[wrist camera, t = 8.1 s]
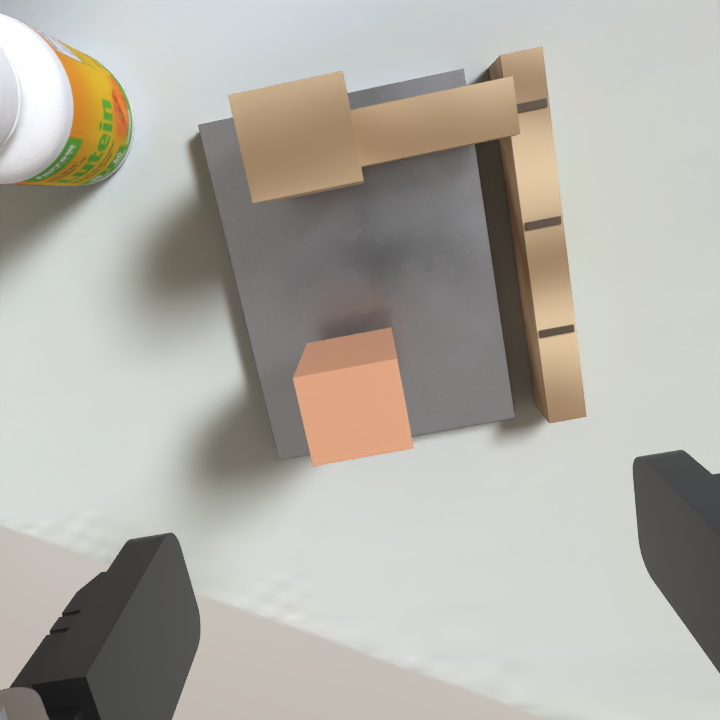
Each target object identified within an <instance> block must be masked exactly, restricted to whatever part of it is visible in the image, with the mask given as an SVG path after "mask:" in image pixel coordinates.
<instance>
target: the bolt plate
mask: <svg viewBox="0 0 720 720" xmlns="http://www.w3.org/2000/svg"><path fill="white" fill-rule="evenodd" d="M463 86H466V81H465V74H464V69H460V70H455V71H451V72H446V73H441V74H437V75H432V76H427V77H422V78H418V79H413V80H408V81H403V82H399V83H394V84H389V85H385V86H380V87H375V88H370V89H366V90H361V91H356V92H351V93H347V95H348V100H349V105H350V110H354V109H358V108H363V107H368V106H373V105H378V104H382V103H387V102H392V101H397V100H401V99H406V98H411V97H416V96H420V95H425V94H430V93H435V92H439V91H444V90H449V89H454V88H458V87H463ZM198 127H199V131H200V135H201V139H202V143H203V148H204V152H205V156H206V160H207V164H208V168H209V172H210V176H211V181H212V185H213V189H214V193H215V197H216V201H217V205H218V209H219V214H220V218H221V222H222V226H223V230H224V234H225V238H226V243H227V247H228V251H229V255H230V259H231V263H232V267H233V271H234V276H235V280H236V284H237V288H238V292H239V296H240V300H241V304H242V309H243V313H244V317H245V321H246V325H247V329H248V333H249V337H250V342H251V346H252V350H253V354H254V358H255V362H256V366H257V370H258V375H259V379H260V383H261V387H262V391H263V395H264V399H265V403H266V408H267V412H268V416H269V420H270V424H271V428H272V432H273V436H274V441H275V445H276V449H277V453H278V457H279V460H282V459H287V458H293V457H298V456H304V455H309V454H310V451H309V446H308V442H307V438H306V433H305V429H304V425H303V420H302V416H301V411H300V407H299V403H298V398H297V394H296V390H295V385H294V381H293V376H294V374H295V371H296V369H297V367H298V364H299V362H300V359H301V357H302V354H303V352H304V349H305V347H306V344H307V343H311V342H317V341H322V340H327V339H332V338H338V337H343V336H348V335H354V334H359V333H364V332H369V331H375V330H380V329H385V328H390V327H391V328H392V334H393V339H394V344H395V350H396V355H397V360H398V366H399V371H400V376H401V381H402V387H403V392H404V397H405V403H406V408H407V414H408V420H409V425H410V431H411V436H415V435H421V434H426V433H432V432H437V431H443V430H448V429H454V428H460V427H465V426H471V425H476V424H482V423H487V422H493V421H498V420H504V419H510V418H515V415H514V408H513V401H512V394H511V387H510V381H509V374H508V367H507V360H506V353H505V347H504V340H503V333H502V326H501V319H500V313H499V306H498V299H497V292H496V285H495V278H494V272H493V265H492V258H491V251H490V244H489V238H488V231H487V224H486V217H485V210H484V204H483V197H482V190H481V183H480V176H479V169H478V163H477V156H476V149H475V144H473V145H469V146H464V147H459V148H454V149H449V150H444V151H439V152H434V153H430V154H425V155H420V156H415V157H410V158H405V159H400V160H395V161H390V162H386V163H381V164H376V165H371V166H366V167H361V169H362V174H363V179H364V183H362V184H358V185H353V186H348V187H343V188H338V189H333V190H328V191H323V192H318V193H313V194H308V195H303V196H299V197H294V198H289V199H284V200H279V201H270V202H260V203H253V202H252V198H251V194H250V189H249V185H248V180H247V176H246V172H245V167H244V163H243V159H242V154H241V150H240V146H239V141H238V137H237V133H236V128H235V124H234V119H233V118H229V119H224V120H219V121H214V122H210V123H205V124H200V125H198Z"/></svg>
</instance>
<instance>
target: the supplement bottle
mask: <svg viewBox="0 0 720 720" xmlns="http://www.w3.org/2000/svg"><path fill="white" fill-rule="evenodd" d="M134 133H135V118H134V112H133V108H132V104H131V101H130V98H129V96H128V94H127V92H126V90H125V88H124V87H123V85H122V84H121V82H120V81H119V80H118V78H117V77H116V76H115V75H114V74H113V73H112V72H111V71H110V70H109V69H108V68H107V67H105V66H104V65H103V64H101V63H100V62H98V61H97V60H95V59H93V58H92V57H90V56H88V55H86V54H84V53H82V52H80V51H78V50H76V49H74V48H72V47H70V46H68V45H66V44H64V43H62V42H60V41H58V40H56V39H54V38H52V37H50V36H48V35H46V34H44V33H42V32H40V31H38V30H36V29H34V28H32V27H30V26H28V25H26V24H25V23H22V22H21V21H18V20H16V19H14V18H12V17H9V16H6V15H4V14H1V13H0V184H25V185H53V186H83V185H90V184H94V183H97V182H99V181H102V180H104V179H106V178H107V177H109V176H110V175H112V174H113V173H114V172H115V171H116V170H118V169H119V167H120V166H121V165H122V164H123V162H124V161H125V160H126V158H127V156H128V154H129V152H130V149H131V147H132V144H133V139H134Z"/></svg>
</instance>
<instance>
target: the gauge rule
mask: <svg viewBox="0 0 720 720" xmlns="http://www.w3.org/2000/svg"><path fill="white" fill-rule="evenodd" d="M489 71H490V78H491V81H487V82H482V83H477V84H473V85H468V86H463V87H458V88H454V89H449V90H444V91H439V92H435V93H430V94H425V95H420V96H416V97H411V98H406V99H401V100H397V101H392V102H387V103H382V104H378V105H373V106H368V107H363V108H358V109H354V110H350V105H349V100H348V95H347V90H346V85H345V80H344V75H343V71H339V72H335V73H330V74H325V75H321V76H316V77H311V78H307V79H302V80H297V81H293V82H288V83H283V84H279V85H274V86H269V87H265V88H260V89H255V90H250V91H246V92H241V93H236V94H232V95H228V98H229V102H230V106H231V111H232V115H233V119H234V124H235V128H236V133H237V137H238V141H239V146H240V150H241V154H242V159H243V163H244V167H245V172H246V176H247V180H248V185H249V189H250V194H251V198H252V202H253V203H260V202H270V201H279V200H284V199H289V198H294V197H299V196H303V195H308V194H313V193H318V192H323V191H328V190H333V189H338V188H343V187H348V186H353V185H358V184H362V183H364V179H363V174H362V169H361V167H366V166H371V165H376V164H381V163H386V162H390V161H395V160H400V159H405V158H410V157H415V156H420V155H425V154H430V153H434V152H439V151H444V150H449V149H454V148H459V147H464V146H469V145H473V144H478V143H483V142H488V141H493V140H498V139H499V143H500V150H501V157H502V165H503V172H504V179H505V186H506V194H507V201H508V208H509V215H510V223H511V230H512V237H513V244H514V252H515V259H516V266H517V273H518V281H519V288H520V295H521V302H522V309H523V317H524V324H525V331H526V338H527V346H528V353H529V360H530V367H531V375H532V382H533V389H534V396H535V404H536V407H537V408H538V409H539V411H540V412H541V413H542V414H543V416H544V417H545V418H546V419H547V421H548V422H549V423H554V422H559V421H565V420H570V419H576V418H582V417H586V409H585V400H584V392H583V383H582V375H581V367H580V358H579V350H578V341H577V333H576V325H575V316H574V308H573V299H572V291H571V283H570V274H569V266H568V257H567V249H566V241H565V232H564V224H563V215H562V207H561V199H560V190H559V182H558V173H557V165H556V157H555V148H554V140H553V131H552V123H551V115H550V106H549V98H548V89H547V81H546V73H545V64H544V56H543V47H538V48H533V49H528V50H523V51H519V52H514V53H509V54H505V55H500V56H499V57H498V58H497V59H496V60H495V61H494V62H493V63H492V64H491V66H490V67H489Z"/></svg>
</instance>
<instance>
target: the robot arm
mask: <svg viewBox="0 0 720 720" xmlns="http://www.w3.org/2000/svg"><path fill="white" fill-rule="evenodd" d="M633 480H634V491H635V503H636V515H637V526H638V538H639V545H640V550H641V554H642V557H643V561H644V563H645V566H646V568H647V571H648V573H649V575H650V576H651V578H652V580H653V581H654V582H655V584H656V585H657V587H658V588H659V589H660V591H661V592H662V593H663V595H664V596H665V598H666V599H667V600H668V602H669V603H670V605H671V606H672V607H673V609H674V610H675V612H676V613H677V614H678V616H679V617H680V619H681V620H682V621H683V623H684V624H685V625H686V627H687V628H688V630H689V631H690V632H691V634H692V635H693V637H694V638H695V639H696V641H697V642H698V644H699V645H700V646H701V648H702V649H703V651H704V652H705V653H706V655H707V656H708V657H709V659H710V660H711V662H712V663H713V664H714V666H715V667H716V669H717V670H718V671H719V673H720V473H719V474H713V475H712V474H711V473H710V472H709V471H708V470H706V469H705V468H704V467H703V466H702V465H700V464H699V463H698V462H697V461H696V460H695V459H693V458H692V457H691V456H690V455H689V454H687V453H686V452H685V451H683V450H677V451H671V452H665V453H659V454H653V455H647V456H641V457H636V458H635V460H634V463H633ZM199 640H200V615H199V610H198V606H197V602H196V599H195V595H194V592H193V588H192V585H191V581H190V578H189V574H188V571H187V567H186V564H185V560H184V557H183V553H182V550H181V547H180V543H179V541H178V539H177V537H176V536H175V535H174V534H173V533H166V534H160V535H154V536H148V537H142V538H136V539H130V540H128V541H127V542H126V543H125V545H124V546H123V548H122V549H121V551H120V552H119V554H118V555H117V557H116V558H115V560H114V561H113V563H112V564H111V566H110V567H109V569H108V571H107V572H101V573H100V574H99V575H98V576H96V577H95V578H94V579H92V580H91V581H90V582H89V583H88V584H86V585H85V586H84V587H83V588H81V589H80V590H79V591H78V592H77V593H76V594H75V596H74V597H73V598H72V600H71V601H70V603H69V604H68V606H67V607H66V608H65V610H64V611H63V613H62V617H59V618H58V620H57V621H56V623H55V624H54V625H53V627H52V628H51V630H50V635H47V636H46V637H45V638H44V639H43V641H42V642H41V644H40V645H39V647H38V648H37V649H36V651H35V652H34V654H33V655H32V657H31V658H30V659H29V661H28V662H27V664H26V665H25V666H24V668H23V669H22V671H21V672H20V674H19V675H18V677H17V678H16V679H15V681H14V682H13V683H12V685H11V686H10V688H9V689H3V690H0V720H172V717H173V714H174V712H175V709H176V706H177V703H178V701H179V698H180V695H181V692H182V690H183V687H184V684H185V681H186V678H187V676H188V673H189V670H190V668H191V665H192V662H193V659H194V657H195V654H196V651H197V648H198V645H199Z"/></svg>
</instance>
